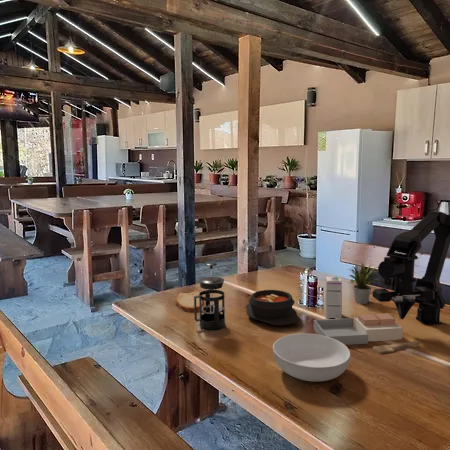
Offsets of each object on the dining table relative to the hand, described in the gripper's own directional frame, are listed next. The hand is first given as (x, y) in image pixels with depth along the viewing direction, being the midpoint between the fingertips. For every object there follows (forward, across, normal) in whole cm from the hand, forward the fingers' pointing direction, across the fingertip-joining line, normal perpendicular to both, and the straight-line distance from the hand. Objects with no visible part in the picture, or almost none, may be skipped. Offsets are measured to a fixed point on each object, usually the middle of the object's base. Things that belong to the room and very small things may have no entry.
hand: (401, 318), depth 139 cm
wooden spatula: (+5, +7, +11) cm, 14 cm away
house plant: (+5, +2, -30) cm, 31 cm away
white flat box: (+5, +8, 0) cm, 10 cm away
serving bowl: (+5, +38, +22) cm, 44 cm away
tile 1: (+1, +12, 0) cm, 12 cm away
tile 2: (+1, +6, 0) cm, 6 cm away
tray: (+5, +21, 0) cm, 22 cm away
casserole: (+5, +40, -19) cm, 45 cm away
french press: (+5, +64, -13) cm, 65 cm away
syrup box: (+5, +18, -17) cm, 25 cm away
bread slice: (+6, +70, -38) cm, 80 cm away
